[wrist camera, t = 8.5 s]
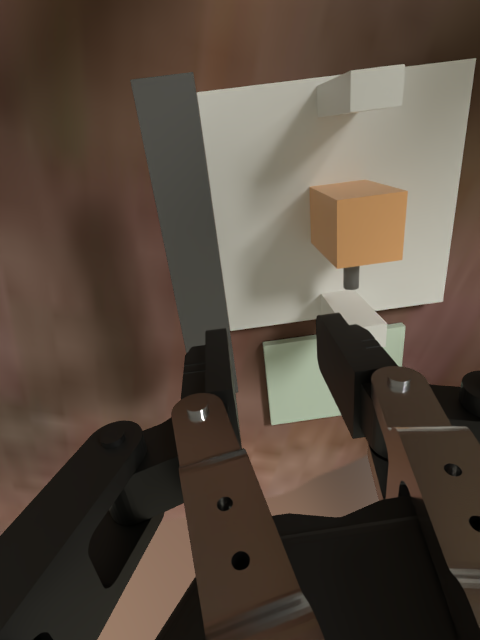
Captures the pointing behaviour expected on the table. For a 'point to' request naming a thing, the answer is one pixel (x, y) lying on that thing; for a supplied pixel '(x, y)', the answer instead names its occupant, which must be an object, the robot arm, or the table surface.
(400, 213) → the orange block
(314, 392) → the mat
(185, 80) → the strap
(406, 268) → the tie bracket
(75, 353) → the table surface
